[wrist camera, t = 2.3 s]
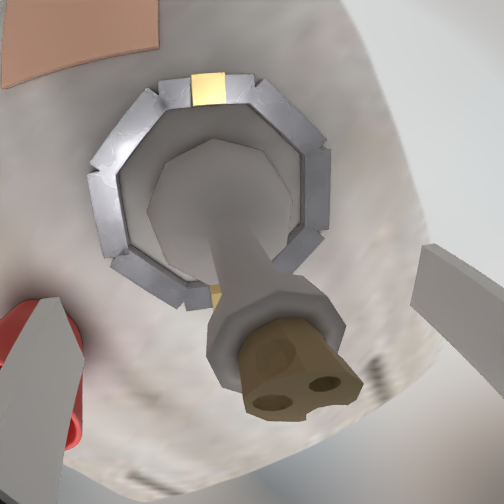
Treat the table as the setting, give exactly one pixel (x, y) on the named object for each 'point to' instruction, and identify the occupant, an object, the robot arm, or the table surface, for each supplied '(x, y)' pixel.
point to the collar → (196, 95)
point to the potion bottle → (251, 281)
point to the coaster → (72, 34)
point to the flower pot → (3, 338)
